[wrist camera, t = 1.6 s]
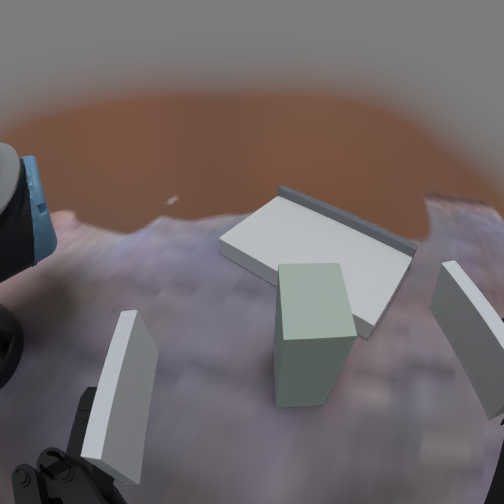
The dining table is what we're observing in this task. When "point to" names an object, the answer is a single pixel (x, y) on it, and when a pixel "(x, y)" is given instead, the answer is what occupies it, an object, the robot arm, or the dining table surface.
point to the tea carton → (310, 333)
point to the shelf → (323, 250)
